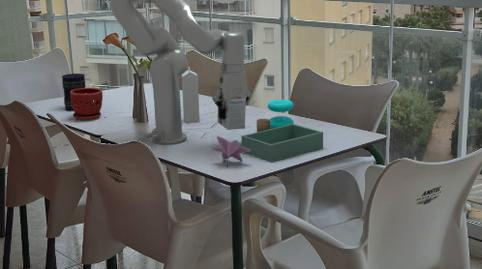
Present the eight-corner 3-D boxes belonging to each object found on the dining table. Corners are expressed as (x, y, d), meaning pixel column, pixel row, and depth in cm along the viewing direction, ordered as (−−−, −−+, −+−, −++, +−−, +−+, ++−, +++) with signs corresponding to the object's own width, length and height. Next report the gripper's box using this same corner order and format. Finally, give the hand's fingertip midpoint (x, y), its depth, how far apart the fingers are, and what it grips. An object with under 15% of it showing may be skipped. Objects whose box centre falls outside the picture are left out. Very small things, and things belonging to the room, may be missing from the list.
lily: (255, 169, 231) (255, 140, 233) (230, 163, 223) (230, 133, 225) (228, 173, 239) (229, 145, 241) (203, 168, 231) (204, 139, 233)
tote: (271, 161, 234) (270, 145, 233) (241, 151, 246) (241, 135, 245) (323, 147, 248) (323, 132, 247) (293, 138, 260) (292, 123, 259)
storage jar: (76, 112, 310) (73, 78, 306) (60, 110, 315) (56, 76, 311) (92, 107, 318) (89, 74, 314) (76, 105, 323) (73, 72, 319)
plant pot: (80, 123, 290) (77, 95, 287) (67, 118, 300) (64, 90, 297) (109, 118, 298) (107, 90, 294) (95, 113, 308) (93, 85, 305)
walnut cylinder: (262, 141, 258) (262, 122, 256) (254, 138, 261) (253, 120, 260) (273, 139, 261) (273, 120, 259) (264, 136, 264) (264, 118, 262)
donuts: (298, 101, 275) (281, 105, 268) (299, 126, 277) (281, 131, 270) (279, 97, 281) (262, 102, 275) (279, 122, 284) (262, 127, 277)
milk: (198, 118, 293) (196, 65, 288) (199, 122, 288) (197, 67, 282) (183, 119, 292) (181, 66, 287) (184, 123, 287) (182, 68, 281)
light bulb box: (216, 122, 257) (217, 93, 254) (234, 120, 260) (235, 91, 256) (227, 130, 248) (228, 100, 244) (245, 128, 250) (246, 98, 247)
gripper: (218, 72, 239) (217, 123, 244) (259, 67, 250) (257, 115, 255) (206, 68, 245) (205, 118, 250) (245, 63, 255) (244, 111, 260)
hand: (231, 116), depth 252 cm, fingers closed on light bulb box, 7 cm apart
